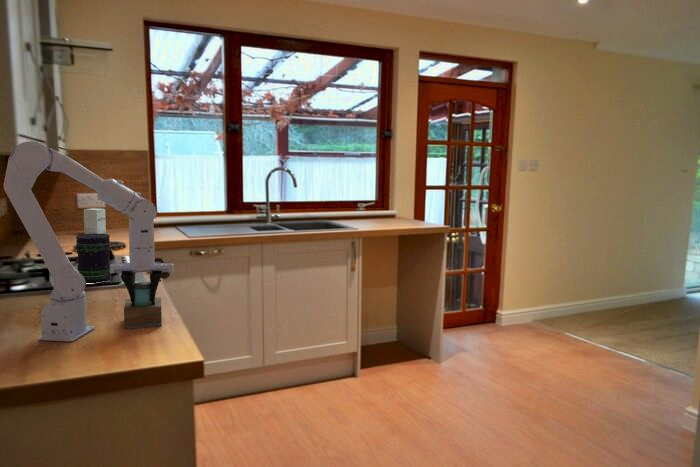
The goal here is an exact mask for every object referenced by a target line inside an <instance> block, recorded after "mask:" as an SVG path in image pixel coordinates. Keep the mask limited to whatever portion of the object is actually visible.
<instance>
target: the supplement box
mask: <svg viewBox="0 0 700 467" xmlns="http://www.w3.org/2000/svg"><path fill="white" fill-rule="evenodd" d="M106 222H107V220H106V208H98V207H97V208H96V207H95V208H94V207H93V208H86V209H85V208H84V209H83V224H84V225H83V226H84V227H83V228H84V230H83V234H107V233H106V232H107V231H106V230H107V229H106V228H107V227H106V226H107V225H106Z"/></svg>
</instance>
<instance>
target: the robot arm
mask: <svg viewBox="0 0 700 467" xmlns="http://www.w3.org/2000/svg"><path fill="white" fill-rule="evenodd" d="M7 160H8V161H7V166H6V171H5V174H4V176H5V177H4V182H3V189H4V192H5V193H6V196H7V198H8V199H9V201H10V203H11V204H12V207H13V209H14V210H15V211H16V213H17V216H18V217H19V219H20V221H21V223H22V224H23V226H24V228H25V230H26V231H27V233H28V235H29V237H30V239H31V241H32V243H33V244H34V246H35V248H36V249H37V251H38V254H40V256H41V258H42V261H43V262H44V263H45V266H46V267H47V270H48V272H49V274H48V275H49V276H48V277H49V280H48V281H49V283H50V284H51V286H52V287H53V289H52V291H51V292H50V293H49V300H48V303H47V304H46V305H44V306H43V307H42V309H41V312H40V321H41V322H40V323H41V336H39V337H38V339H37V340H38V341H53V342H72V343H73V342H74V341H76V340H78V339H79V338H81V337H83V336H85V335H86V334H88V333H90V332H91V331H93V329H94V330H95V328H96V327H95V325H87V324H88V322H87V302H86V299H87V298H86V291H85V289H86V286H87V285H86V282H85V279H84V277H83V276H82V275H81V274H80V273H79V271H78V267H76V266H75V265H73V264H72V263H71V262H70V259H69V257H68V256H67V254H66V253H65V250H64V248H63V247H62V245H61V243H60V241H59V239H58V238H57V236H56V234H55V231H54V230H53V228H52V227H51V224H50V223H49V221H48V219H47V217H46V214H45V213H44V212H43V209H42V208H41V206H40V204H39V202H38V199H37V198H36V196H35V195H34V192H33V191H32V188H33V187H34V184H35V183H36V180H37V179H38V177H39V176H40V174H41V173H43V172H44V171H45V170H47V171H50V172H57V173H59V172H60V173H63V174H65V175H67V176H69V177H70V178H72V179H74V180H76V181H78V182H80V183H81V184H83V185H86V186H87V187H89V188H90V189H92V190H94V191H95V192H96V194H97V196H96V197H97V199H98V200H100V201H101V202H103V203H104V204H107V205H108V206H109V207H112V208H113V209H114V210H116V211H118V212H120V213H121V214H125V215H126V216H127V218H128V226H129V227H128V245H129V247H128V250H129V252H128V253H129V262H123V263H110V264H111V265H110V274H115V273H121V275H120V279H121V280H122V282H123V284H124V286H125V287H126V290H127V292H128V295H129V299H131V302H134V283H136V273H150V274H149V282H150V283H151V302H153V301H154V300H155V298H156V295H157V289H158V286H159V284H160V282H161V279H162V278H161V276H162V274H163V272H169V273H170V274H171V273H174V270H175V268H174V266H175V264H174V263H166V262H164V263H155V258H156V257H155V228H154V226H155V225H154V220H155V218H156V217H157V215H158V214H157V213H158V210H157V209H156V206H155V204H154V203H153V202H152V201H151V200H150V199H146V198H144V197H142V193H141V192H139V191H136V192H135V191H134V190H132V189H131V188H129V187H127V186H125V185H124V181H122V180H121V179H114V178H108V179H107V178H106V179H103V178H102V177H100V176H99V175H97V174H96V173H94V172H93V171H91V170H89V169H88V168H86V167H85V166H83V165H82V164H80V163H79V162H77V161H75V160H74V159H72V158H71V157H69V156H68V155H66V154H63V153H61V152H59V151H57V150H55V149H53V148H51V147H47V146H46V145H44V144H42V143H41V142H38V141H34V140H33V141H32V140H31V141H23V142H21V143H18V144H17V145H16V146H15V147H14V149H13V150H12V152H11V154H10V155H9V157H8V159H7Z"/></svg>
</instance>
